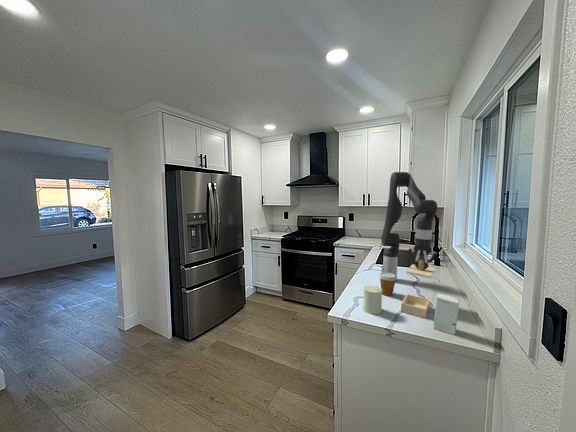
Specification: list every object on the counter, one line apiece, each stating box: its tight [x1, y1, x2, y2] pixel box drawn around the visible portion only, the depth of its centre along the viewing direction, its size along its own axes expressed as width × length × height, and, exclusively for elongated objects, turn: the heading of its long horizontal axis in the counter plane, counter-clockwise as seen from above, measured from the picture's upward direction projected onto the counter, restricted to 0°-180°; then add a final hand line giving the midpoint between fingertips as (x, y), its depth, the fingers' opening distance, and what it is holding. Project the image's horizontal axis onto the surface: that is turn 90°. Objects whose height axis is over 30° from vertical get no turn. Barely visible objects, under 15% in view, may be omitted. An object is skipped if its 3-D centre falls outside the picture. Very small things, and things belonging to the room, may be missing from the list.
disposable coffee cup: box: [379, 272, 396, 297], centre depth 143 cm, size 10×10×12 cm
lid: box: [406, 258, 436, 279], centre depth 129 cm, size 11×14×7 cm
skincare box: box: [433, 293, 460, 336], centre depth 106 cm, size 8×6×15 cm
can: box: [362, 285, 383, 315], centre depth 124 cm, size 9×9×12 cm
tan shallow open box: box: [400, 293, 430, 319], centre depth 125 cm, size 11×14×4 cm
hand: (421, 268), depth 129 cm, fingers closed on lid, 3 cm apart
